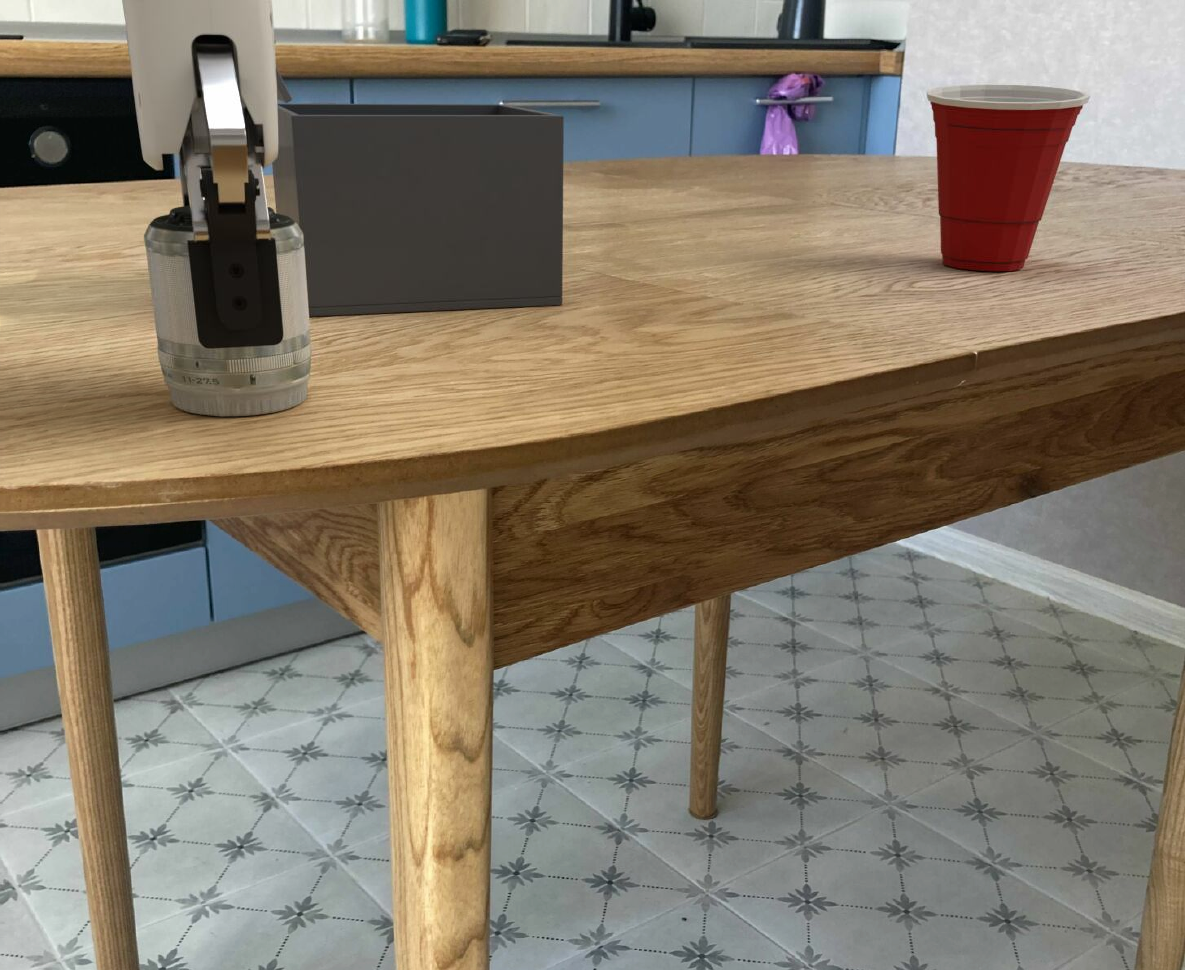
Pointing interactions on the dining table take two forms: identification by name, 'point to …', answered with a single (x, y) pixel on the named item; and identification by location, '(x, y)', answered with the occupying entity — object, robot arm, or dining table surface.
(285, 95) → the flap
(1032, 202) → the plastic cup
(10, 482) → the dining table surface
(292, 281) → the camera lens
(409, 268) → the carton
